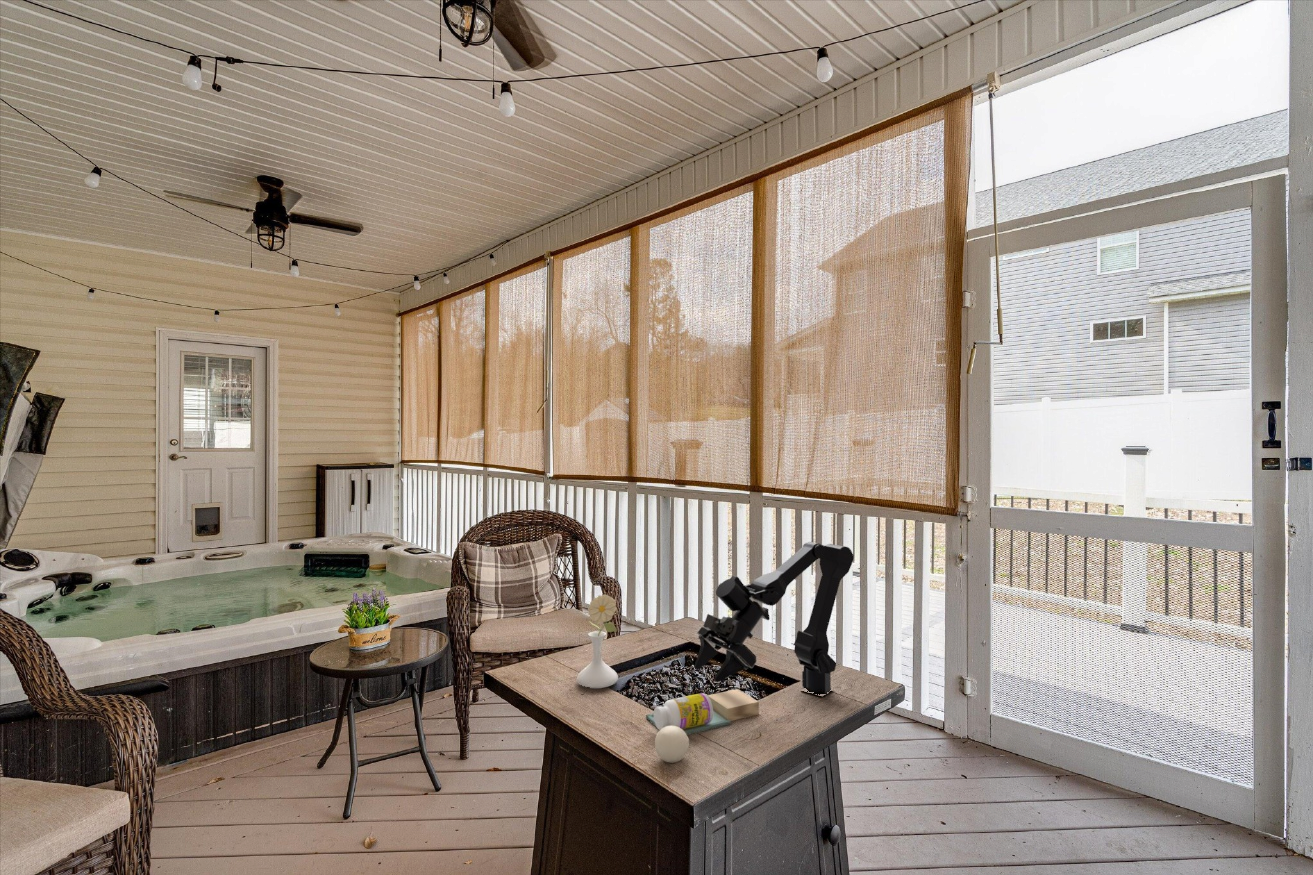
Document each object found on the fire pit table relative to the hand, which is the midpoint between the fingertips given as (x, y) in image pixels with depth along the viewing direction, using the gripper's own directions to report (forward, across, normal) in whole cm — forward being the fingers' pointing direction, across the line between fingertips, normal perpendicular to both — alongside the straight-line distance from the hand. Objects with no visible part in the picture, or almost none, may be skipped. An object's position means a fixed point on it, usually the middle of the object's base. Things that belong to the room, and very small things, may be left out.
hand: (705, 674), depth 147 cm
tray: (+11, 0, +4) cm, 11 cm away
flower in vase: (+18, -31, -4) cm, 36 cm away
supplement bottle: (+5, +3, +3) cm, 7 cm away
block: (+2, 0, +13) cm, 13 cm away
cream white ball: (+19, +14, -5) cm, 24 cm away
